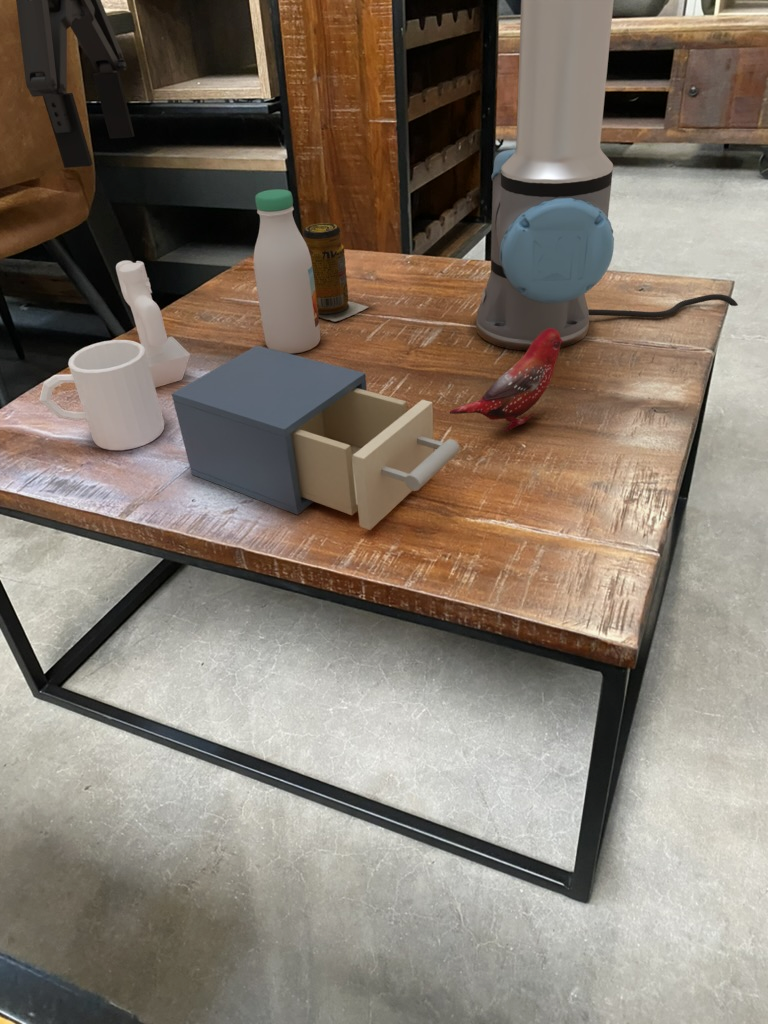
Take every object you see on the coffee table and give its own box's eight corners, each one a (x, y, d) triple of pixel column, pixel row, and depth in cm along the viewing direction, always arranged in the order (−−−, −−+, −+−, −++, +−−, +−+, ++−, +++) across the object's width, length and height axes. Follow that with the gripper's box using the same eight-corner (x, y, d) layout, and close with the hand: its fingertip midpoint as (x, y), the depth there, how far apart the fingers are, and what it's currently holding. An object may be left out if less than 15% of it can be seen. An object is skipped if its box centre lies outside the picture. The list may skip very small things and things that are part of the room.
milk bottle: (312, 356, 103) (293, 201, 91) (258, 354, 105) (232, 201, 93) (327, 333, 109) (311, 184, 97) (275, 331, 111) (254, 185, 99)
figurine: (144, 400, 96) (112, 282, 87) (123, 373, 102) (91, 261, 94) (199, 383, 99) (173, 268, 90) (175, 358, 105) (149, 248, 96)
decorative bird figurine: (567, 407, 88) (575, 325, 82) (459, 469, 79) (460, 382, 73) (547, 399, 90) (553, 318, 84) (440, 459, 81) (438, 372, 75)
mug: (53, 438, 89) (24, 360, 83) (154, 409, 94) (133, 333, 88) (66, 469, 83) (36, 388, 78) (173, 437, 88) (152, 357, 82)
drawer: (471, 481, 76) (471, 412, 71) (408, 545, 68) (405, 471, 64) (328, 437, 84) (321, 372, 79) (259, 489, 77) (246, 421, 72)
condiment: (330, 296, 121) (322, 217, 114) (369, 308, 116) (363, 226, 109) (296, 311, 117) (285, 230, 110) (334, 324, 112) (326, 240, 105)
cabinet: (371, 454, 82) (365, 372, 77) (297, 515, 74) (284, 429, 69) (269, 422, 89) (256, 345, 84) (191, 474, 81) (171, 393, 76)
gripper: (49, -91, 81) (107, 129, 94) (-77, -98, 61) (19, 183, 74) (117, -98, 80) (167, 125, 93) (13, -107, 60) (94, 178, 73)
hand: (102, 151), depth 84 cm, fingers open, 13 cm apart
